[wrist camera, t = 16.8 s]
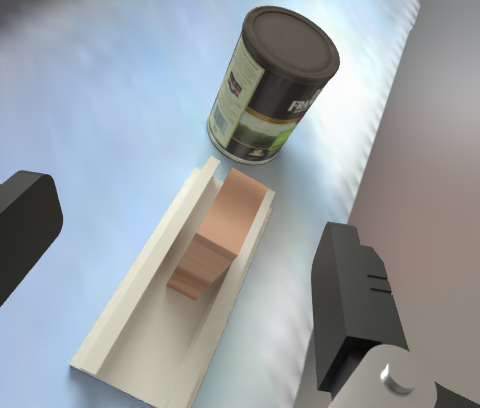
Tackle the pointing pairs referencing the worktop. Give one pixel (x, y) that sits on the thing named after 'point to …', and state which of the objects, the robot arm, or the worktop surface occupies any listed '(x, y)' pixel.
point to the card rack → (168, 307)
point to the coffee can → (270, 83)
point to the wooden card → (219, 235)
